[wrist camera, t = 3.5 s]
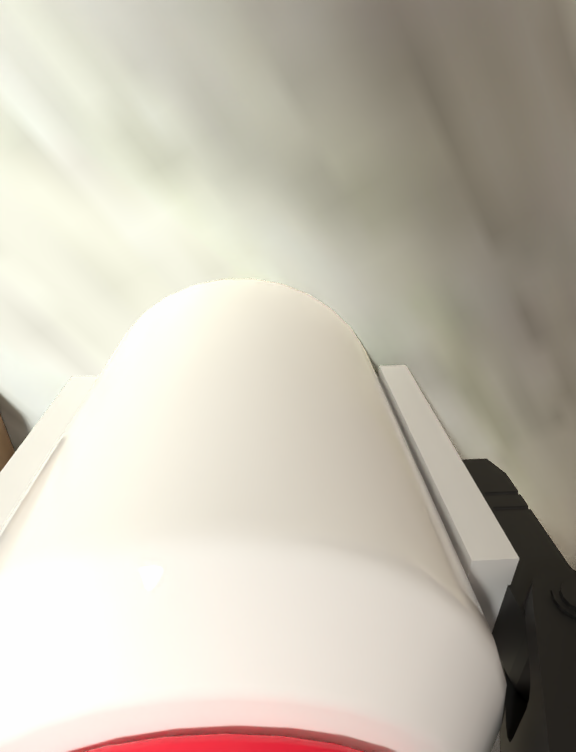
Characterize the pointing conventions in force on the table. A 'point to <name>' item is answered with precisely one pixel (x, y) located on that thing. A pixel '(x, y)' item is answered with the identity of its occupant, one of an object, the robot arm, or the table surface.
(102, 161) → the table surface
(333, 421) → the pill bottle
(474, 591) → the robot arm
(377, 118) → the table surface
